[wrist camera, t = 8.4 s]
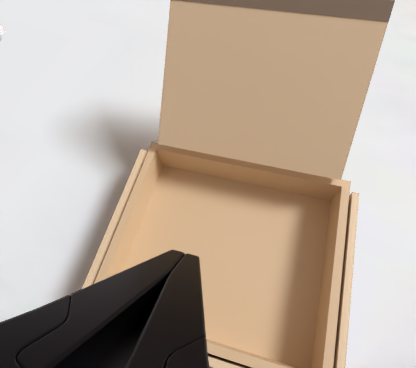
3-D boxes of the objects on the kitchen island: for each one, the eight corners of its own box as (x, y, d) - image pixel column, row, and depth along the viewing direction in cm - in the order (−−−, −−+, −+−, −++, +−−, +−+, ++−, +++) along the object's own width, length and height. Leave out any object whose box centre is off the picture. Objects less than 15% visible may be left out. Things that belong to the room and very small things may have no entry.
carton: (324, 397, 17) (341, 410, 15) (91, 320, 20) (68, 319, 17) (344, 200, 22) (360, 182, 20) (154, 160, 25) (144, 140, 22)
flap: (340, 180, 19) (401, -22, 15) (157, 144, 21) (173, -40, 18) (339, 177, 20) (396, -18, 16) (161, 142, 22) (177, -35, 18)
